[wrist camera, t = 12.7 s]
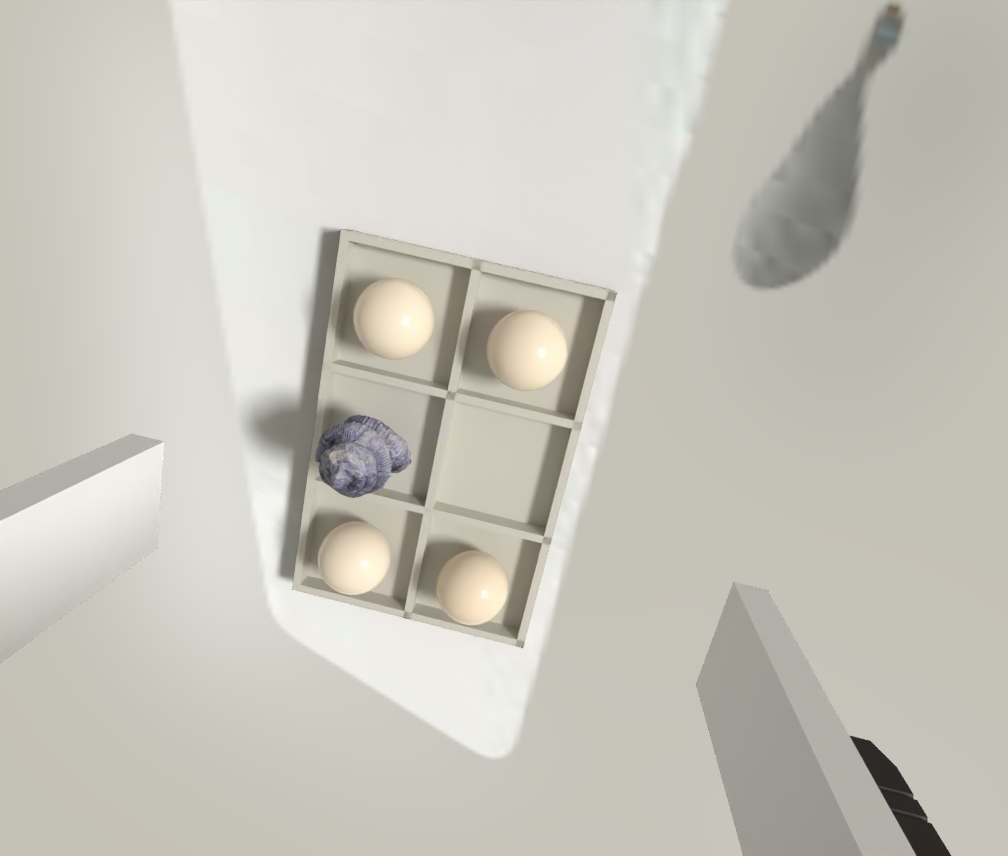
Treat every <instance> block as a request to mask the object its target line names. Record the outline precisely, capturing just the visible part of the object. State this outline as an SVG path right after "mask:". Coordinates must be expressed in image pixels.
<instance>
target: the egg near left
mask: <svg viewBox="0 0 1008 856" xmlns="http://www.w3.org/2000/svg"><path fill="white" fill-rule="evenodd" d="M353 323H354V328H355V332H356V334H357V336H358V338H359V340H360V342H361V343H362V344H363V345H364V346H365V347H366V348H367V349H368V350H369V351H370V352H371V353H373V354H375V355H376V356H379V357H381V358H384V359H389V360H402V359H406V358H409V357H412V356H414V355H416V354H417V353H419V352H420V351H421V350H422V349H423V348H424V347H425V346H426V345H427V344H428V342H429V341H430V339H431V337H432V334H433V331H434V327H435V313H434V309H433V306H432V303H431V301H430V299H429V297H428V296H427V295H426V293H425V292H424V291H423V290H422V289H421V288H419V287H418V286H417V285H415V284H414V283H412V282H410V281H408V280H404V279H400V278H386V279H382V280H379V281H377V282H374V283H373V284H371V285H369V286H368V287H367V288H366V289H365V290H364V291H363V292H362V293H361V295H360V296H359V298H358V299H357V301H356V304H355V307H354V312H353Z"/></svg>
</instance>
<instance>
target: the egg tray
mask: <svg viewBox="0 0 1008 856" xmlns="http://www.w3.org/2000/svg"><path fill="white" fill-rule="evenodd" d="M386 278H400V279H404V280H408V281H410V282H412V283H414V284H415V285H417V286H418V287H419V288H421V289H422V290H423V291H424V292H425V293H426V295H427V296H428V297H429V299H430V301H431V303H432V306H433V309H434V313H435V327H434V331H433V334H432V337H431V339H430V341H429V342H428V344H427V345H426V346H425V347H424V348H423V349H422V350H421V351H420V352H419V353H417V354H416V355H414V356H412V357H409V358H406V359H402V360H389V359H384V358H381V357H379V356H376V355H375V354H373V353H371V352H370V351H369V350H368V349H367V348H366V347H365V346H364V345H363V344H362V343H361V342H360V340H359V338H358V336H357V334H356V332H355V328H354V323H353V312H354V307H355V304H356V301H357V299H358V298H359V296H360V295H361V293H362V292H363V291H364V290H365V289H366V288H367V287H368V286H369V285H371V284H373V283H374V282H377V281H379V280H382V279H386ZM616 295H617V292H616V291H614V290H610V289H605V288H601V287H597V286H592V285H588V284H584V283H579V282H575V281H571V280H566V279H562V278H558V277H553V276H549V275H545V274H540V273H536V272H531V271H527V270H523V269H518V268H514V267H510V266H505V265H501V264H497V263H492V262H488V261H484V260H479V259H475V258H471V257H466V256H462V255H458V254H453V253H449V252H445V251H440V250H436V249H432V248H427V247H423V246H418V245H414V244H410V243H405V242H401V241H397V240H392V239H388V238H384V237H379V236H375V235H371V234H366V233H362V232H358V231H353V230H343V229H341V233H340V240H339V248H338V255H337V262H336V270H335V277H334V284H333V292H332V299H331V306H330V314H329V321H328V328H327V336H326V343H325V351H324V358H323V365H322V373H321V380H320V387H319V395H318V402H317V409H316V417H315V424H314V432H313V439H312V446H311V454H310V461H309V468H308V476H307V483H306V490H305V498H304V505H303V512H302V520H301V527H300V535H299V542H298V549H297V557H296V564H295V571H294V579H293V586H292V590H296V591H300V592H304V593H308V594H312V595H316V596H320V597H324V598H328V599H332V600H336V601H340V602H344V603H348V604H351V605H355V606H359V607H363V608H367V609H371V610H375V611H379V612H383V613H387V614H391V615H395V616H399V617H403V618H407V619H411V620H415V621H419V622H423V623H427V624H430V625H434V626H438V627H442V628H446V629H450V630H454V631H458V632H462V633H466V634H470V635H474V636H478V637H482V638H486V639H490V640H494V641H498V642H502V643H505V644H509V645H513V646H517V647H521V648H523V646H524V642H525V638H526V634H527V630H528V627H529V623H530V619H531V615H532V612H533V608H534V604H535V600H536V597H537V593H538V589H539V585H540V581H541V578H542V574H543V570H544V566H545V563H546V559H547V555H548V551H549V547H550V544H551V540H552V536H553V532H554V529H555V525H556V521H557V517H558V513H559V510H560V506H561V502H562V498H563V495H564V491H565V487H566V483H567V480H568V476H569V472H570V468H571V464H572V461H573V457H574V453H575V449H576V446H577V442H578V438H579V434H580V430H581V427H582V423H583V419H584V415H585V412H586V408H587V404H588V400H589V397H590V393H591V389H592V385H593V381H594V378H595V374H596V370H597V366H598V363H599V359H600V355H601V351H602V347H603V344H604V340H605V336H606V332H607V329H608V325H609V321H610V317H611V313H612V310H613V306H614V302H615V298H616ZM522 309H533V310H538V311H541V312H544V313H546V314H548V315H549V316H551V317H552V318H553V319H554V320H556V321H557V323H558V324H559V325H560V326H561V328H562V329H563V331H564V333H565V336H566V339H567V343H568V357H567V361H566V364H565V367H564V369H563V371H562V372H561V374H560V375H559V376H558V378H557V379H556V380H555V381H554V382H552V383H551V384H550V385H548V386H546V387H544V388H542V389H539V390H535V391H519V390H515V389H512V388H510V387H508V386H506V385H505V384H503V383H502V382H501V381H500V380H499V379H498V378H497V377H496V376H495V375H494V373H493V372H492V370H491V368H490V366H489V363H488V360H487V353H486V347H487V341H488V338H489V335H490V333H491V331H492V329H493V327H494V326H495V325H496V323H497V322H498V321H499V320H500V319H501V318H503V317H504V316H506V315H507V314H509V313H511V312H514V311H517V310H522ZM354 415H361V416H364V415H365V416H368V417H371V418H375V419H377V420H380V421H381V422H383V423H384V424H385V425H387V426H389V428H391V429H392V430H393V431H394V432H395V433H396V434H397V435H399V436H401V437H402V439H404V440H406V443H407V445H408V448H409V450H410V451H411V456H410V459H411V461H412V462H411V463H410V464H409V465H408V466H407V467H406V469H404V470H402V471H401V472H399V473H391V477H389V479H388V481H387V482H386V483H385V485H384V486H383V488H381V489H379V490H376V491H374V492H373V493H369V494H365V495H363V496H361V497H356V498H350V497H347V496H344V495H342V494H340V493H338V492H337V491H335V490H334V489H333V488H331V487H330V486H329V485H327V484H326V483H324V482H323V480H322V479H321V477H320V473H319V465H320V463H319V462H316V461H315V452H316V450H317V446H318V442H319V439H320V438H321V436H322V435H323V433H324V432H325V431H327V430H328V429H329V428H330V427H332V426H335V425H339V424H343V423H344V421H345V420H347V419H348V418H349V417H351V416H354ZM354 521H358V522H365V523H368V524H371V525H373V526H375V527H376V528H378V529H379V530H380V531H381V532H382V533H383V534H384V535H385V537H386V538H387V540H388V542H389V545H390V548H391V565H390V568H389V571H388V573H387V575H386V577H385V578H384V580H383V581H382V582H381V583H380V584H379V585H378V586H377V587H375V588H374V589H372V590H370V591H368V592H366V593H363V594H358V595H348V594H343V593H340V592H338V591H336V590H334V589H332V588H331V587H330V586H329V585H328V584H327V583H326V582H325V581H324V579H323V578H322V576H321V574H320V571H319V568H318V551H319V548H320V545H321V543H322V541H323V540H324V538H325V537H326V535H327V534H328V533H329V532H330V531H331V530H333V529H334V528H335V527H337V526H339V525H341V524H344V523H347V522H354ZM470 550H476V551H482V552H485V553H488V554H490V555H491V556H493V557H494V558H495V559H497V560H498V561H499V562H500V563H501V565H502V566H503V568H504V570H505V572H506V574H507V577H508V582H509V593H508V597H507V600H506V603H505V605H504V607H503V608H502V610H501V611H500V612H499V613H498V615H496V616H495V617H494V618H493V619H491V620H490V621H488V622H485V623H483V624H478V625H466V624H462V623H459V622H457V621H455V620H453V619H452V618H450V617H449V616H448V615H447V614H446V613H445V612H444V610H443V609H442V607H441V606H440V604H439V601H438V598H437V593H436V584H437V579H438V575H439V573H440V571H441V569H442V567H443V566H444V564H445V563H446V562H447V561H448V560H449V559H450V558H451V557H453V556H455V555H456V554H458V553H461V552H464V551H470Z"/></svg>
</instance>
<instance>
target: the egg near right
mask: <svg viewBox="0 0 1008 856" xmlns="http://www.w3.org/2000/svg"><path fill="white" fill-rule="evenodd" d="M486 353H487V360H488V363H489V366H490V368H491V370H492V372H493V373H494V375H495V376H496V377H497V378H498V379H499V380H500V381H501V382H502V383H503V384H505V385H506V386H508V387H510V388H512V389H515V390H519V391H535V390H539V389H542V388H544V387H546V386H548V385H550V384H551V383H552V382H554V381H555V380H556V379H557V378H558V376H559V375H560V374H561V372H562V371H563V369H564V367H565V364H566V361H567V357H568V343H567V339H566V336H565V333H564V331H563V329H562V328H561V326H560V325H559V324H558V323H557V321H556V320H554V319H553V318H552V317H551V316H549V315H548V314H546V313H544V312H541V311H538V310H533V309H522V310H517V311H514V312H511V313H509V314H507V315H506V316H504V317H503V318H501V319H500V320H499V321H498V322H497V323H496V325H495V326H494V327H493V329H492V331H491V333H490V335H489V338H488V341H487V347H486Z"/></svg>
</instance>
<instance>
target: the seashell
mask: <svg viewBox="0 0 1008 856" xmlns="http://www.w3.org/2000/svg"><path fill="white" fill-rule="evenodd" d="M410 456H411V451H410V450H409V448H408V445H407V443H406V440H404V439H402V437H401V436H399V435H397V434H396V433H395V432H394V431H393V430H392V429H391V428H389V426H387V425H385V424H384V423H383V422H381V421H380V420H377V419H375V418H371V417H368V416H365V415H364V416H361V415H354V416H351V417H349V418H348V419H347V420H345V421H344V423H343V424H339V425H335V426H332V427H330V428H329V429H328V430H327V431H325V432H324V433H323V435H322V436H321V438H320V439H319V442H318V446H317V450H316V452H315V461H316V462H319V463H320V465H319V473H320V477H321V479H322V480H323V482H324V483H326V484H327V485H329V486H330V487H331V488H333V489H334V490H335V491H337V492H338V493H340V494H342V495H344V496H347V497H350V498H356V497H361V496H363V495H365V494H369V493H373V492H374V491H376V490H379V489H381V488H383V486H384V485H385V483H386V482H387V481H388V479H389V477H391V473H399V472H401V471H402V470H404V469H406V467H407V466H408V465H409V464H410V463H411V462H412V461H411V459H410Z"/></svg>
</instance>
